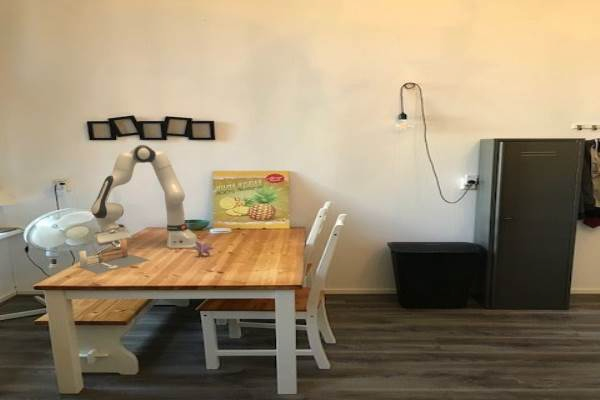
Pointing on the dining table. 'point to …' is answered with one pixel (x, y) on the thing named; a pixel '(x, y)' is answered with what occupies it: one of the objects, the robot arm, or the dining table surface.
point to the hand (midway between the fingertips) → (118, 247)
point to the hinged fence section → (123, 250)
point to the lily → (203, 248)
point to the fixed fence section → (84, 259)
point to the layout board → (114, 264)
